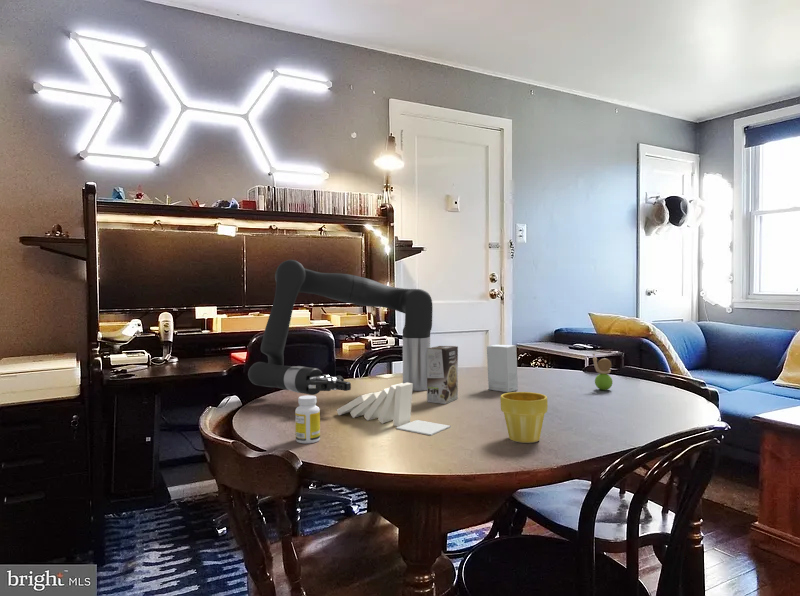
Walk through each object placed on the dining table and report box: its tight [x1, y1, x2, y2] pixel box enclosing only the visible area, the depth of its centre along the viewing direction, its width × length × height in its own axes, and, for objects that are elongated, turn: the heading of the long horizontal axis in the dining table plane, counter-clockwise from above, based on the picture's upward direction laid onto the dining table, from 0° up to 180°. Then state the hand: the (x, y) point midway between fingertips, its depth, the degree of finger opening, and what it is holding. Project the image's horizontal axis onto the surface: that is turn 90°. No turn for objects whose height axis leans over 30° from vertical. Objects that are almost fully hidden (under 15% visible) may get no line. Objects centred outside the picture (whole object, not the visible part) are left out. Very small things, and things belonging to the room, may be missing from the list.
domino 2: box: [349, 390, 383, 419], centre depth 141 cm, size 2×5×10 cm
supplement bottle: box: [294, 394, 321, 444], centre depth 121 cm, size 5×5×10 cm
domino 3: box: [363, 387, 390, 421], centre depth 138 cm, size 2×5×10 cm
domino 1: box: [336, 392, 375, 416], centre depth 143 cm, size 2×5×10 cm
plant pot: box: [499, 391, 549, 444], centre depth 121 cm, size 10×10×10 cm
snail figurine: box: [592, 353, 613, 391], centre depth 177 cm, size 5×6×12 cm
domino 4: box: [377, 382, 403, 425], centre depth 136 cm, size 2×5×10 cm, turn 144°
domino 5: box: [392, 382, 413, 427], centre depth 134 cm, size 2×5×10 cm, turn 144°
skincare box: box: [486, 343, 519, 393], centre depth 177 cm, size 8×6×15 cm
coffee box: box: [426, 345, 459, 405], centre depth 162 cm, size 9×6×16 cm
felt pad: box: [395, 419, 452, 436], centre depth 131 cm, size 10×9×1 cm
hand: (349, 386), depth 145 cm, fingers closed
